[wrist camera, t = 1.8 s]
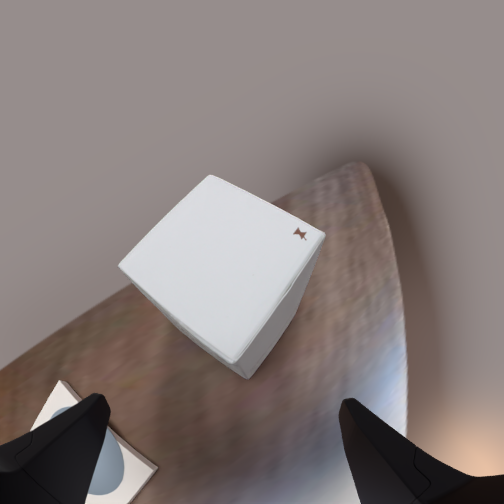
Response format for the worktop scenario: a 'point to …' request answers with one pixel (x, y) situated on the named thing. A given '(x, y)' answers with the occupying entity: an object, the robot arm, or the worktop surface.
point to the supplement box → (226, 271)
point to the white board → (104, 456)
